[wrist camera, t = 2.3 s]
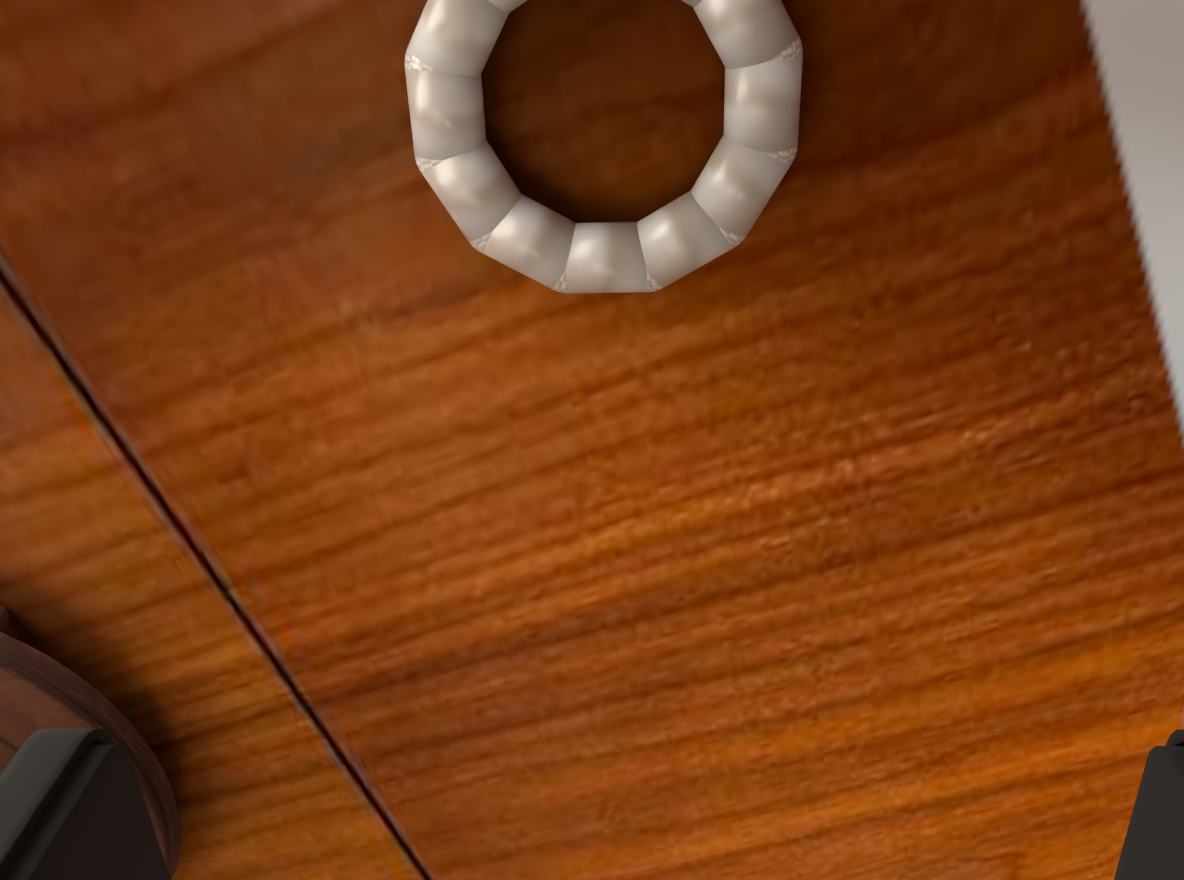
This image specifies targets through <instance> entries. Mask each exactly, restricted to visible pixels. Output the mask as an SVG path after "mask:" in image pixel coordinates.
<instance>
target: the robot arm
mask: <svg viewBox="0 0 1184 880" xmlns="http://www.w3.org/2000/svg"><path fill="white" fill-rule="evenodd" d="M0 880H171V878H170V875H169V872H168V869H167V866H166V863H165V860H164V857H163V854H162V851H161V848H160V845H159V842H158V839H157V836H156V833H155V830H154V827H153V824H152V821H151V818H150V814H149V811H148V808H147V805H146V802H145V799H144V796H143V793H142V790H141V787H140V784H139V781H138V778H137V775H136V772H135V769H134V766H133V763H132V760H131V757H130V754H129V752H128V750H127V748H125V747H124V746H123V745H114V742H113V740H112V738H111V736H110V734H109V733H107V732H106V731H105V730H104V729H40V730H38V731H36V732H34V733H32V734H31V735H30V736H29V738H28V739H27V740H26V741H25V742H24V743H23V745H22V746H21V747H20V749H19V750H18V752H17V753H16V754H15V756H14V757H13V758H12V760H11V761H10V763H9V764H8V765H7V767H6V768H5V769H4V771H3V772H2V774H1V775H0ZM1114 880H1184V729H1183V730H1176V731H1174V732H1173V733H1172V734H1171V735H1170V737H1169V739H1168V741H1167V744H1166V746H1155V747H1154V748H1153V749H1152V750H1151V751H1150V753H1149V756H1148V758H1147V762H1146V765H1145V769H1144V773H1143V776H1142V780H1141V784H1140V787H1139V791H1138V795H1137V798H1136V802H1135V805H1134V809H1133V813H1132V816H1131V820H1130V824H1129V827H1128V831H1127V835H1126V838H1125V842H1124V846H1123V849H1122V853H1121V856H1120V860H1119V864H1118V867H1117V871H1116V875H1115V878H1114Z"/></svg>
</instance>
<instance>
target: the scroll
mask: <svg viewBox="0 0 1184 880" xmlns="http://www.w3.org/2000/svg"><path fill="white" fill-rule="evenodd" d="M8 620H9V613H8V611H7V610H6V608H5V607H3V606H0V775H1V774H2V772H3V771H4V769H5V768H6V767H7V765H8V764H9V763H10V761H11V760H12V758H13V757H14V756H15V754H16V753H17V752H18V750H19V749H20V747H21V746H22V745H23V743H24V742H25V741H26V740H27V739H28V738H29V736H30V735H31V734H32V733H34V732H36V731H38V730H40V729H104V730H105V731H106V732H107V733H109V734H110V736H111V738H112V740H113V742H114V745H123V746H124V747H125V748H127V750H128V752H129V754H130V757H131V760H132V763H133V766H134V769H135V772H136V775H137V778H138V781H139V784H140V787H141V790H142V793H143V796H144V799H145V802H146V805H147V808H148V811H149V814H150V818H151V821H152V824H153V827H154V830H155V833H156V836H157V839H158V842H159V845H160V848H161V851H162V854H163V857H164V860H165V863H166V866H167V869H168V872H169V875H170V878H171V879H172V877H173V875H174V873H175V869H176V866H177V862H178V859H179V852H180V844H181V829H180V820H179V813H178V808H177V804H176V801H175V797H174V794H173V791H172V788H171V786H170V784H169V781H168V779H167V776H166V774H165V772H164V770H163V769H162V767H161V765H160V763H159V761H158V759H157V758H156V756H155V754H154V753H153V751H152V750H151V749H150V747H149V746H148V744H147V743H146V741H145V740H144V738H143V737H142V736H141V735H140V733H139V732H138V731H137V730H136V729H135V727H134V726H133V725H132V724H131V723H130V721H129V720H128V719H127V718H126V717H125V716H124V715H123V714H122V713H121V712H120V711H119V710H118V709H117V708H116V707H115V706H114V705H113V704H112V703H111V702H110V701H109V700H107V699H106V698H105V697H104V696H103V695H102V694H101V693H99V692H98V691H97V690H96V689H95V688H94V687H92V686H91V685H90V684H88V683H87V682H86V681H84V680H83V679H82V678H80V677H79V676H78V675H77V674H75V673H74V672H72V671H71V670H69V669H68V668H66V667H65V666H63V665H62V664H60V663H58V662H57V661H55V660H54V659H52V658H51V657H49V656H47V655H45V654H43V653H42V652H40V651H38V650H36V649H34V648H33V647H31V646H29V645H27V644H25V643H23V642H21V641H19V640H16V639H14V638H12V637H10V636H8V635H6V634H5V632H6V630H7V626H8Z"/></svg>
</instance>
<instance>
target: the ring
mask: <svg viewBox="0 0 1184 880" xmlns="http://www.w3.org/2000/svg"><path fill="white" fill-rule="evenodd" d="M526 1H527V0H427V3H426V5H425V8H424V10H423V12H422V15H421V17H420V19H419V22H418V24H417V26H416V29H415V31H414V34H413V36H412V38H411V41H410V43H409V45H408V48H407V51H406V55H405V73H406V82H407V91H408V100H409V109H410V118H411V127H412V136H413V145H414V154H415V159H416V163H417V165H418V167H419V170H420V171H421V173H422V174H423V176H424V177H425V179H426V180H427V182H428V183H429V184H430V186H431V187H432V189H433V190H434V192H435V193H436V195H437V196H438V198H439V199H440V201H441V202H442V203H443V205H444V206H445V208H446V209H447V211H448V212H449V214H450V215H451V217H452V218H453V219H454V221H455V222H456V224H457V225H458V227H459V228H460V230H461V231H462V233H463V234H464V236H465V237H466V238H467V240H468V241H469V242H470V244H471V245H472V246H473V247H474V248H475V249H477V250H478V251H479V252H481V253H483V254H485V255H487V256H489V257H491V258H493V259H495V260H496V261H498V262H500V263H502V264H504V265H506V266H508V267H510V268H512V269H514V270H516V271H518V272H520V273H521V274H523V275H525V276H527V277H529V278H531V279H533V280H535V281H537V282H539V283H541V284H543V285H545V286H546V287H548V288H550V289H552V290H554V291H557V292H561V293H626V292H653V291H657V290H660V289H662V288H664V287H666V286H668V285H669V284H671V283H673V282H675V281H676V280H678V279H680V278H682V277H684V276H685V275H687V274H689V273H691V272H692V271H694V270H696V269H698V268H699V267H701V266H703V265H705V264H706V263H708V262H710V261H712V260H714V259H715V258H717V257H719V256H721V255H722V254H724V253H726V252H728V251H729V250H731V249H733V248H734V247H736V246H737V245H739V244H740V243H741V242H742V241H743V240H744V239H745V237H746V236H747V235H748V233H749V231H750V230H751V228H752V227H753V225H754V223H755V222H756V220H757V219H758V217H759V215H760V214H761V212H762V211H763V209H764V207H765V206H766V204H767V202H768V201H769V199H770V198H771V196H772V194H773V193H774V191H775V190H776V188H777V186H778V185H779V183H780V182H781V180H782V178H783V177H784V175H785V174H786V172H787V170H788V169H789V167H790V166H791V164H792V162H793V160H794V158H795V156H796V153H797V147H798V133H799V115H800V97H801V79H802V61H803V50H802V44H801V40H800V37H799V35H798V33H797V31H796V29H795V27H794V25H793V23H792V21H791V19H790V17H789V15H788V13H787V11H786V9H785V7H784V5H783V3H782V1H781V0H681V1H683V2H685V3H686V4H688V5H690V6H692V7H693V9H694V11H695V12H696V14H697V16H698V18H699V20H700V22H701V24H702V25H703V27H704V29H705V31H706V33H707V35H708V37H709V38H710V40H711V42H712V44H713V46H714V48H715V50H716V51H717V53H718V55H719V57H720V59H721V61H722V63H723V64H724V66H725V100H724V135H723V136H722V138H721V140H720V141H719V143H718V145H717V147H716V148H715V150H714V152H713V153H712V155H711V157H710V159H709V160H708V162H707V164H706V165H705V167H704V169H703V171H702V172H701V174H700V176H699V177H698V179H697V181H696V183H695V184H694V186H693V188H692V189H691V190H690V191H689V192H687V193H685V194H684V195H682V196H680V197H678V198H677V199H675V200H673V201H672V202H670V203H668V204H667V205H665V206H663V207H662V208H660V209H658V210H657V211H655V212H653V213H651V214H650V215H648V216H646V217H645V218H643V219H641V220H640V221H638V222H598V223H575V222H573V221H572V220H570V219H568V218H566V217H564V216H562V215H560V214H559V213H557V212H555V211H553V210H551V209H549V208H547V207H545V206H544V205H542V204H540V203H538V202H536V201H534V200H532V199H531V198H529V197H527V196H525V195H523V194H521V192H520V191H519V189H518V188H517V186H516V185H515V183H514V182H513V180H512V179H511V177H510V175H509V174H508V172H507V171H506V169H505V168H504V166H503V165H502V163H501V162H500V160H499V159H498V157H497V156H496V154H495V152H494V151H493V149H492V148H491V146H490V145H489V143H488V142H487V140H486V130H485V117H484V105H483V92H482V79H481V73H482V71H483V69H484V67H485V64H486V62H487V60H488V58H489V56H490V54H491V51H492V49H493V47H494V45H495V43H496V40H497V38H498V36H499V34H500V32H501V30H502V27H503V25H504V23H505V21H506V19H507V17H508V14H509V13H510V12H511V11H513V10H514V9H516V8H517V7H519V6H520V5H522V4H523V3H525V2H526Z"/></svg>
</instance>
